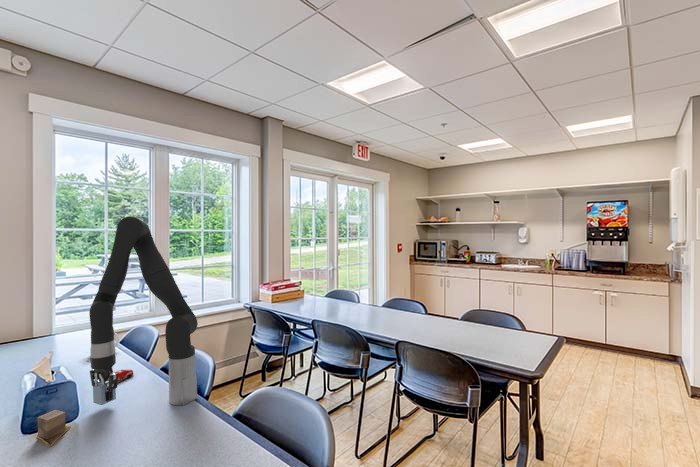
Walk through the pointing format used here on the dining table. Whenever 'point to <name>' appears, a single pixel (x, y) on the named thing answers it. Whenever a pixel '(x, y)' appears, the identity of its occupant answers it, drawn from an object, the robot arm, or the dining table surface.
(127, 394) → the dining table surface
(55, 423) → the walnut block
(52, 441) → the shard
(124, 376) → the race car
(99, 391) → the slate block
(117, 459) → the dining table surface
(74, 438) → the dining table surface
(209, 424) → the dining table surface
